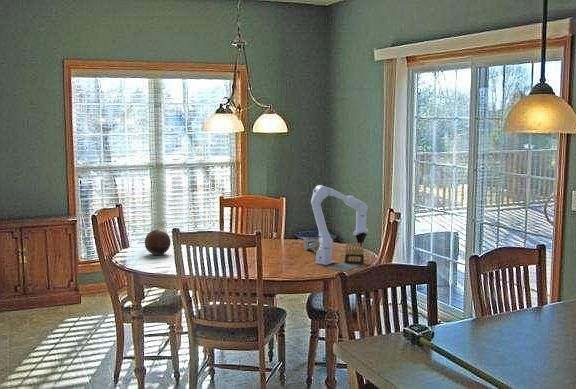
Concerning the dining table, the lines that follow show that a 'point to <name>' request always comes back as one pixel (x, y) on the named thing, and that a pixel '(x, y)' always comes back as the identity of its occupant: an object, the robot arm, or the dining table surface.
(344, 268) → the mat
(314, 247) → the gun
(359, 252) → the ammunition clip
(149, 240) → the wooden sphere
